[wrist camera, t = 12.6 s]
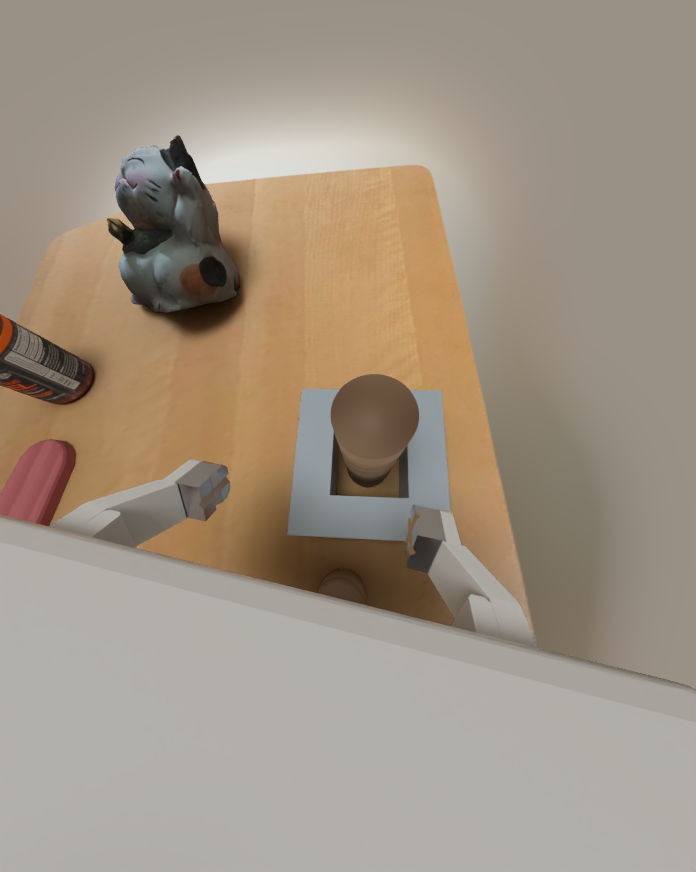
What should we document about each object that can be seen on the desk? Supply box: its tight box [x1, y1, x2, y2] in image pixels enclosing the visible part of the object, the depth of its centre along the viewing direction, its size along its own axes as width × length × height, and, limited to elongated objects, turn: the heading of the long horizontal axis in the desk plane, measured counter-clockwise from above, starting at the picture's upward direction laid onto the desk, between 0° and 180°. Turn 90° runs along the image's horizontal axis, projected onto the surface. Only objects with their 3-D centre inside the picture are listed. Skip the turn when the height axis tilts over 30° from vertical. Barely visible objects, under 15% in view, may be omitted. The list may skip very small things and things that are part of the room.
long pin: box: [331, 374, 419, 487], centre depth 18 cm, size 4×4×14 cm
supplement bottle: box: [0, 314, 93, 404], centre depth 24 cm, size 6×6×11 cm
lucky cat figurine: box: [107, 135, 240, 313], centre depth 27 cm, size 15×12×14 cm
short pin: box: [317, 568, 366, 605], centre depth 19 cm, size 4×4×6 cm
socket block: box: [287, 389, 451, 541], centre depth 22 cm, size 12×12×5 cm
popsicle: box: [0, 439, 76, 526], centre depth 25 cm, size 5×2×15 cm
